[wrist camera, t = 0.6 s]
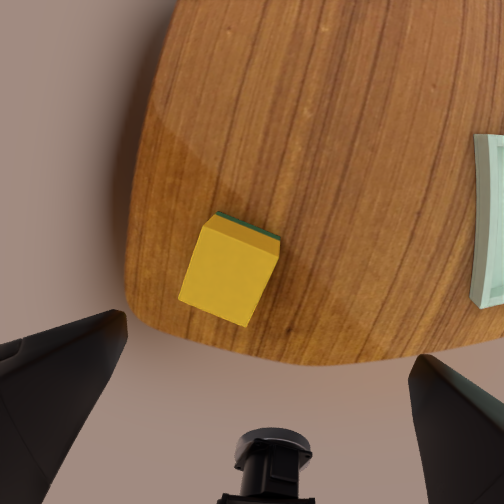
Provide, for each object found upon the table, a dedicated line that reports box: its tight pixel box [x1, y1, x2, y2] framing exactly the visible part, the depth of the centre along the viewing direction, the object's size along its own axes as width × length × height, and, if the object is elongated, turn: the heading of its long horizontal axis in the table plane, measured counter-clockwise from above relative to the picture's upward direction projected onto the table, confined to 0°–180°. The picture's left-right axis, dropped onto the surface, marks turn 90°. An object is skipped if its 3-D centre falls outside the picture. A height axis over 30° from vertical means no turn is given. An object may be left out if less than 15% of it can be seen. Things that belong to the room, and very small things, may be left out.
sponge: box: [178, 211, 280, 328], centre depth 20 cm, size 5×4×4 cm
